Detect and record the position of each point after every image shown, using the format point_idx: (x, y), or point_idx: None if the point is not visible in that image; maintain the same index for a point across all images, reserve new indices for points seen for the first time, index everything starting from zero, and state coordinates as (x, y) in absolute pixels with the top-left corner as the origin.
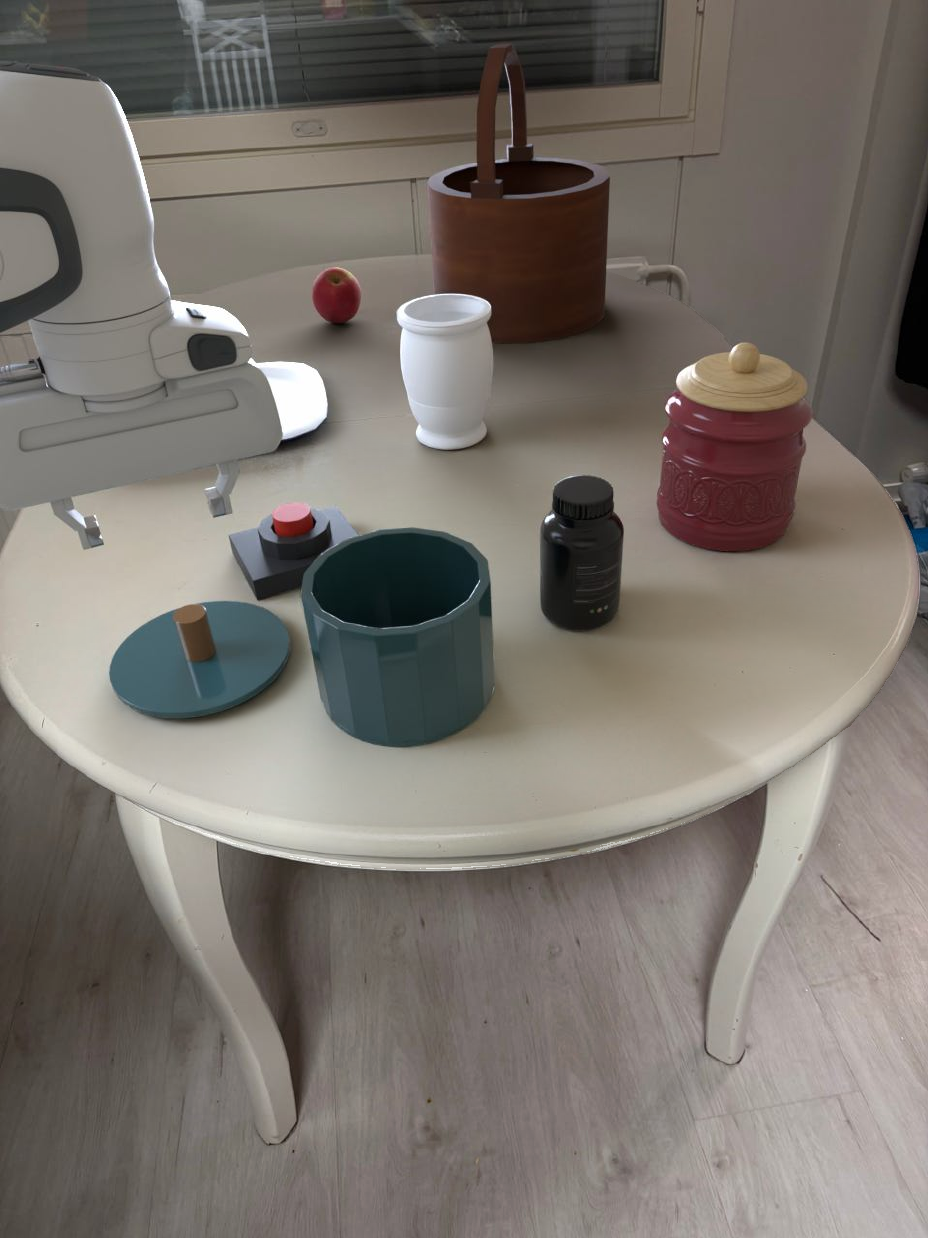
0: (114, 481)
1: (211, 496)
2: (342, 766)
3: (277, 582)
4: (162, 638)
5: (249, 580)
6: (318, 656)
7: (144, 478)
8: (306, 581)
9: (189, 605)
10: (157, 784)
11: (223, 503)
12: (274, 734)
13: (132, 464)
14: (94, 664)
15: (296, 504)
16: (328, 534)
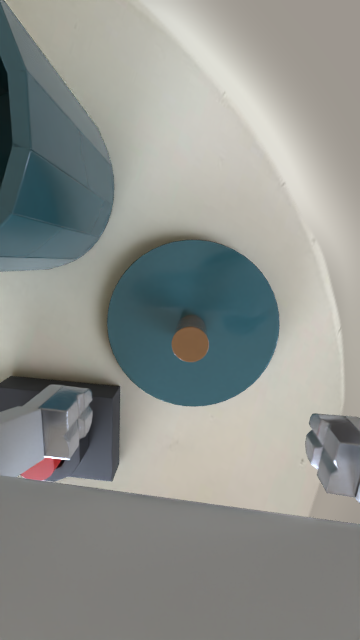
0: (350, 546)
1: (61, 421)
2: (125, 105)
3: (93, 390)
4: (216, 370)
5: (116, 410)
6: (77, 138)
7: (210, 510)
8: (13, 185)
9: (185, 359)
10: (282, 182)
11: (50, 397)
12: (166, 189)
13: (263, 621)
14: (276, 380)
15: (24, 472)
16: None
